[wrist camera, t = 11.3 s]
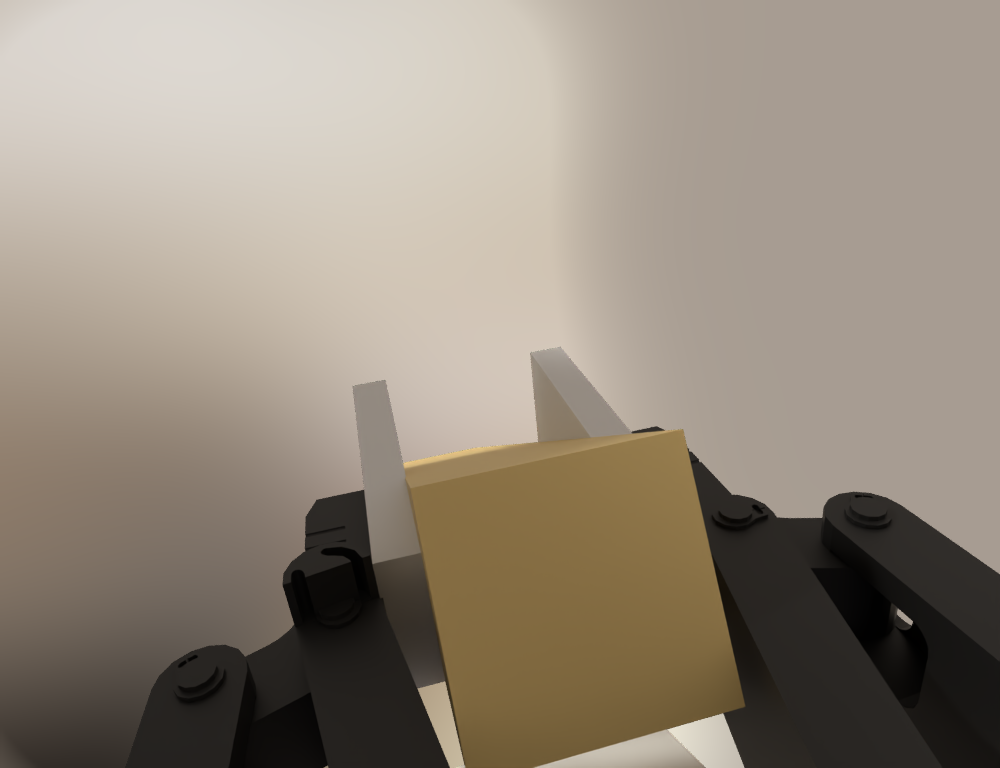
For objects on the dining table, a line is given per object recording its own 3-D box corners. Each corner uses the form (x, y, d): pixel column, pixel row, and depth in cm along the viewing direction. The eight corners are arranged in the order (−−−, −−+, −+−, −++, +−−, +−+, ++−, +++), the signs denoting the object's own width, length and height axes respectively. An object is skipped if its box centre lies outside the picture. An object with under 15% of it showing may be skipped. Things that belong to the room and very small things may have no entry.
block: (745, 706, 9) (682, 428, 9) (469, 786, 8) (410, 488, 9) (490, 524, 33) (474, 447, 33) (413, 541, 32) (397, 464, 32)
